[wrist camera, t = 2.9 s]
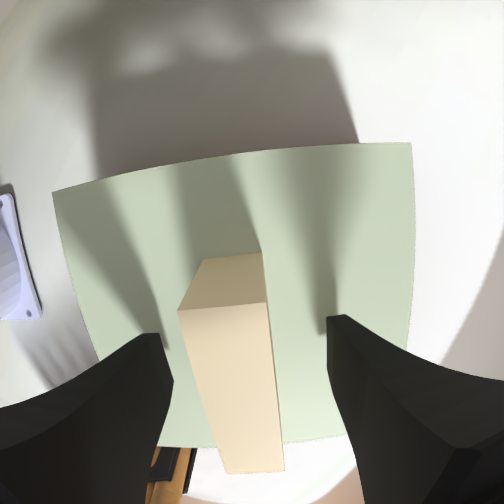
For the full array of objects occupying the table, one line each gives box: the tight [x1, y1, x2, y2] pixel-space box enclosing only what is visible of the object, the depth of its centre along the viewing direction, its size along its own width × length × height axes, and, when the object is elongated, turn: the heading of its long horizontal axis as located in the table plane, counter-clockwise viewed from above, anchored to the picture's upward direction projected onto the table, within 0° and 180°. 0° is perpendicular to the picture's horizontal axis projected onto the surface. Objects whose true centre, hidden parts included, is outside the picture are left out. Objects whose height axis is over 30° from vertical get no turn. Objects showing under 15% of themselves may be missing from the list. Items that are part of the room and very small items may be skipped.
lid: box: [52, 143, 415, 474], centre depth 9 cm, size 12×12×5 cm
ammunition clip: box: [145, 446, 198, 504], centre depth 13 cm, size 11×2×12 cm, turn 118°
